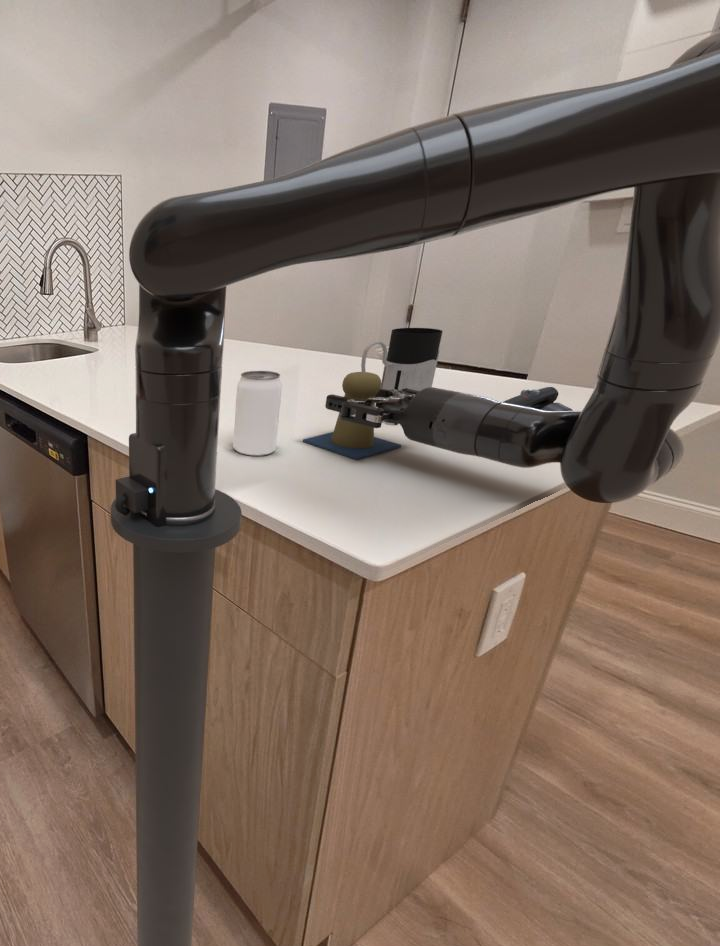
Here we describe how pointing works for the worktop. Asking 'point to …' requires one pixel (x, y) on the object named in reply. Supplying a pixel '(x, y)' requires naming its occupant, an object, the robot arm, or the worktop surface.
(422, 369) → the glass holder
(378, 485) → the worktop surface
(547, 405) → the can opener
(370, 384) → the cork
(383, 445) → the mat
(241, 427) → the can
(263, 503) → the worktop surface
